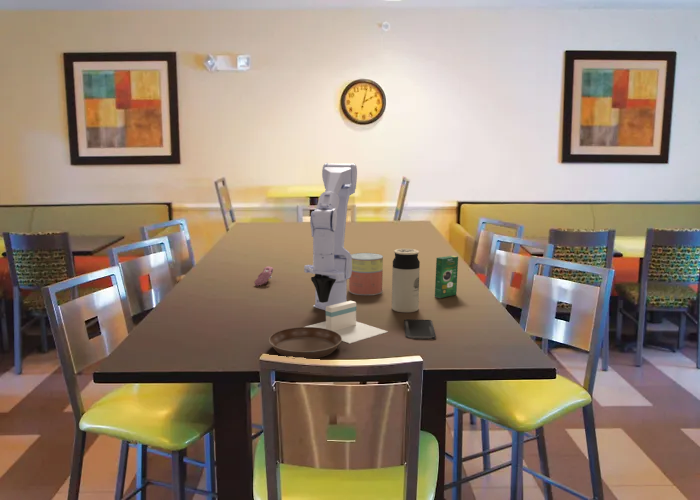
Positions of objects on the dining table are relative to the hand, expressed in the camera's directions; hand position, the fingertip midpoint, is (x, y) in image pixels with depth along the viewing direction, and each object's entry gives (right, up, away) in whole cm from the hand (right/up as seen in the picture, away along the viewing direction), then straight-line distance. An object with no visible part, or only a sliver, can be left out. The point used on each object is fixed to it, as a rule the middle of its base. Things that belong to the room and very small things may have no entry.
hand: (323, 301), depth 172 cm
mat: (+6, -7, -5) cm, 11 cm away
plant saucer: (-4, -10, -19) cm, 22 cm away
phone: (+26, -8, -4) cm, 27 cm away
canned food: (+13, 0, +37) cm, 39 cm away
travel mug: (+24, -4, +15) cm, 28 cm away
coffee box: (+39, -1, +31) cm, 50 cm away
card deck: (+5, -7, -4) cm, 9 cm away
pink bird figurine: (-23, +2, +48) cm, 53 cm away
